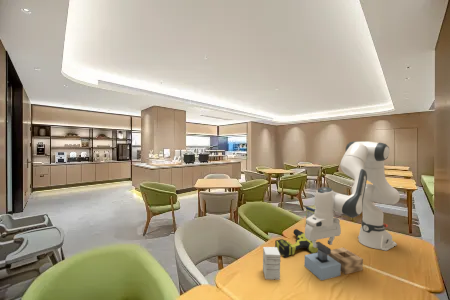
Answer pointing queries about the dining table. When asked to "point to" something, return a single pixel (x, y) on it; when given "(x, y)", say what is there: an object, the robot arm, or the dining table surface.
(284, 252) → the cordless drill
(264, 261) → the supplement box
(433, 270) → the dining table surface
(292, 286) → the dining table surface
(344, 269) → the stand
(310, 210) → the protein box
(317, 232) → the robot arm
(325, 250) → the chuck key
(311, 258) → the block
